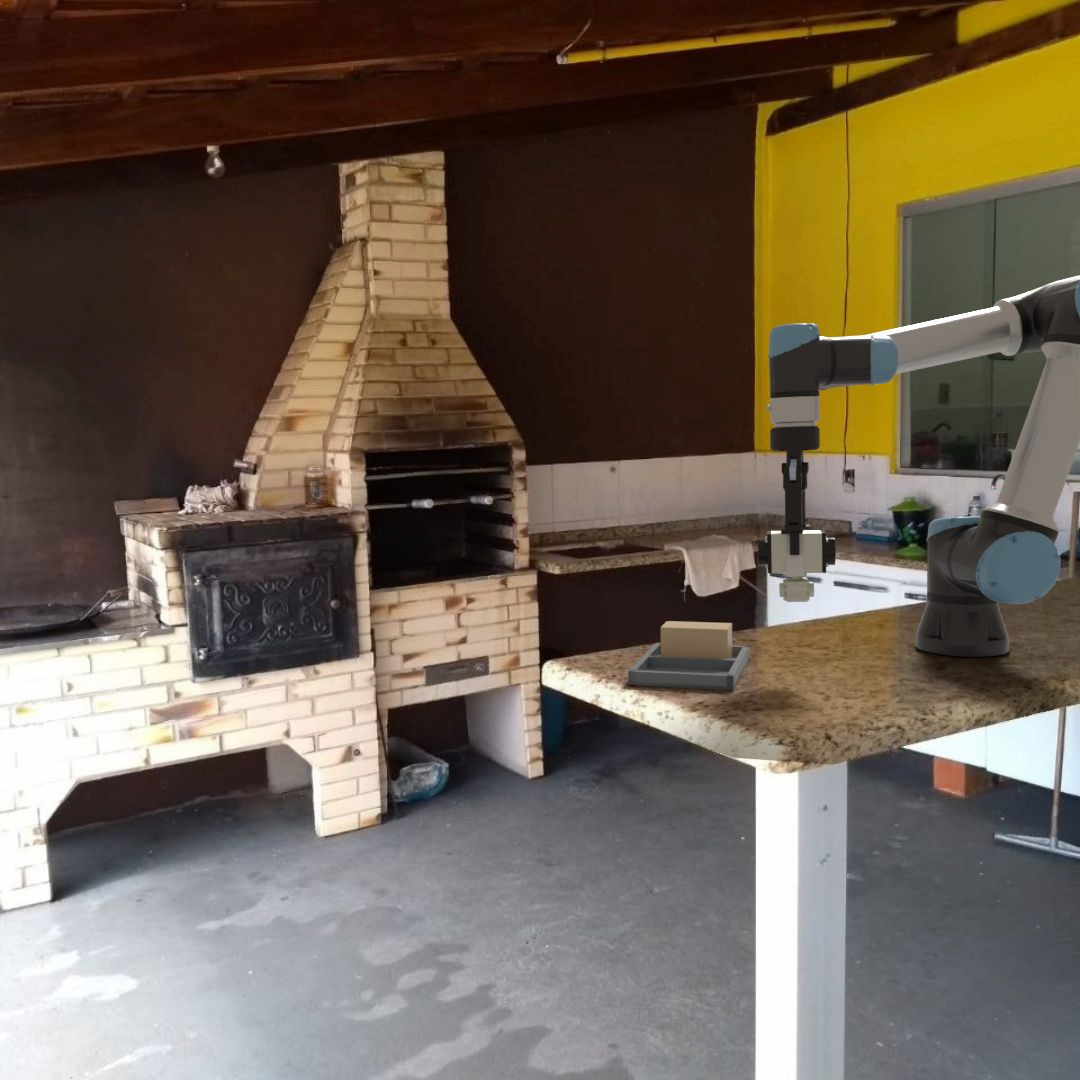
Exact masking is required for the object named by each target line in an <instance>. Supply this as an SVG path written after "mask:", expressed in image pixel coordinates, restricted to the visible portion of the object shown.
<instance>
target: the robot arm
mask: <svg viewBox="0 0 1080 1080" xmlns="http://www.w3.org/2000/svg"><path fill="white" fill-rule="evenodd" d="M819 330H820V329H819V326H818V325H817V324H815V323H805V322H804V323H787V324H781V325H780V324H779V325H777V326H775V327H773V328H772V329H771V330H770V332H769V339H768V340H769V342H768V355H767V359H768V370H769V371H768V372H769V373H768V374H769V402H770V403H771V404H766V407H765V410H766V411H767V412H770V414H769V416H770V417H769V422H770V423H771V424H773V426H774V427H771V429H770V430H769V440H770V441H769V442H770V443H769V448H770V450H771V451H772V452H786V458H785V459H786V462H783V463H782V462H781V474H782V488H783V490H784V512H785V513H784V515H785V518H784V519H785V520H784V522H785V523H784V529H781V530H780V531H781V534H786V573H785V576H786V577H787V576H791V577H792V576H800V577H803V576H804V534H803V531H804V530H810V529H811V524H810V523H807V518H806V490H807V488H808V474H809V471H810V470H809V461H806V462H805V461H804V459H805V458H804V452H805V451H817V450H819V449H820V447H821V446H820V445H821V444H820V443H821V439H820V437H821V434H820V433H821V432H820V431H821V430H820V428H819V426H818V425H817V423H819V422H820V421H821V419H820V418H821V414H820V413H821V409H820V408H821V400H820V399H821V398H820V391H825V390H831V389H835V388H842V387H844V388H845V387H849V386H862V385H865V386H866V385H870V386H874V385H880V384H887V383H890V382H891V381H892V380H893V379H894V378H895V376H896V375H898V374H902V373H903V374H904V373H907V372H908V373H909V372H912V371H918V370H922V369H926V368H927V369H928V368H930V367H931V368H932V367H936V366H940V365H945V364H950V363H954V362H958V361H964V360H968V359H969V360H970V359H973V358H978V357H982V356H987V355H992V354H996V353H1001V354H1002V355H1004V356H1006V357H1011V356H1016V355H1021V354H1026V353H1027V354H1028V353H1038V352H1042V353H1043V354H1044V357H1046V361H1045V365H1044V367H1043V370H1042V373H1041V376H1040V379H1039V382H1038V385H1037V387H1036V389H1035V393H1034V395H1033V398H1032V401H1031V405H1030V406H1029V409H1028V413H1027V415H1026V419H1025V422H1024V424H1023V427H1022V429H1021V432H1020V435H1019V438H1018V440H1017V444H1016V446H1015V449H1014V453H1013V455H1012V457H1011V461H1010V463H1009V466H1008V468H1007V472H1006V475H1005V477H1004V480H1003V484H1002V486H1001V489H1000V492H999V494H998V498H997V500H996V501H995V502H994V503H992V504H990V505H988V506H986V507H984V508H983V509H982V512H981V514H980V515H976V516H975V515H974V516H958V517H957V516H956V517H942V518H935V519H933V520H932V521H930V523H929V524H928V527H927V528H928V529H927V537H926V543H927V544H926V545H927V547H926V549H927V552H926V555H927V557H926V559H927V560H926V561H927V562H926V564H927V565H926V568H927V569H926V571H927V572H926V604H925V608H924V610H923V614H922V616H921V619H920V621H919V624H918V627H917V630H916V633H915V647H916V648H917V649H918V650H920V651H923V652H927V653H931V654H937V655H941V656H942V655H943V656H950V657H972V658H973V657H974V658H975V657H976V658H977V657H978V658H979V657H982V658H983V657H995V656H1001V655H1005V654H1007V653H1009V651H1010V636H1009V634H1008V630H1007V627H1006V625H1005V622H1004V618H1003V616H1002V612H1001V610H1000V609H1001V608H1000V604H1011V605H1023V604H1028V603H1029V604H1030V603H1032V602H1033V601H1034V602H1035V601H1036V600H1038V599H1040V598H1042V597H1044V596H1045V595H1046V594H1047V593H1048V592H1049V591H1050V590H1052V588H1053V587H1054V585H1055V584H1056V582H1057V580H1058V578H1059V576H1060V571H1061V566H1062V565H1061V564H1062V563H1061V561H1062V560H1061V556H1060V555H1059V553H1058V551H1059V550H1058V548H1057V546H1056V541H1057V539H1058V535H1059V532H1060V529H1059V527H1058V526H1057V525H1058V524H1056V522H1055V519H1054V514H1055V513H1056V510H1057V507H1058V504H1059V501H1060V498H1061V496H1062V494H1063V490H1064V488H1065V485H1066V482H1067V478H1068V476H1069V473H1070V471H1071V468H1072V465H1073V462H1074V460H1075V457H1076V454H1077V451H1078V448H1079V445H1080V275H1076V276H1072V277H1067V278H1064V279H1059V280H1056V281H1053V282H1050V283H1048V284H1045V285H1042V286H1039V287H1037V288H1035V289H1032V290H1029V291H1026V292H1024V293H1021V294H1017V295H1015V296H1011V297H1007V298H1003V299H999V300H997V301H996V302H995V303H994V304H993V306H992V307H989V308H984V309H979V310H975V311H971V312H966V313H961V314H957V315H952V316H948V317H944V318H943V317H941V318H939V319H933V320H929V321H925V322H920V323H915V324H911V325H906V326H901V327H897V328H892V329H887V330H882V331H877V332H873V333H869V334H863V335H850V336H849V335H848V336H832V337H829V336H821V333H820V331H819Z"/></svg>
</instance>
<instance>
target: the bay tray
mask: <svg viewBox="0 0 1080 1080" xmlns="http://www.w3.org/2000/svg"><path fill="white" fill-rule="evenodd" d="M749 659H750V646H749V645H733V623H732V622H710V621H709V622H707V621H706V622H705V621H680V620H679V621H676V620H675V621H674V620H669V621H668V620H667V621H665V623H663V624H662V625H661V626H660V642H655V643H654V644H653V645H652V646H651V647H650V648H649V649H648V650H647V652H646V653H644V654H643V655H642V656H641V657H640V658H639V659H638V660H637V662H636V663H635V664H633V666H632V667H631V668H630V669H628V671H627V676H628V677H627V679H628V680H627V682H628V686H630V685H636V687H650V688H651V687H655V688H669V689H670V688H672V689H673V688H674V689H675V688H676V689H691V690H692V689H694V690H695V689H697V690H713V691H732V692H733V691H734V690H735V688H736V686H737V685H738V683H739V680H740V679H741V676H742V674H743V672H744V669H745V668H746V666H747V665H748V662H749Z"/></svg>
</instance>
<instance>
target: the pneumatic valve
mask: <svg viewBox="0 0 1080 1080" xmlns="http://www.w3.org/2000/svg"><path fill="white" fill-rule="evenodd" d="M803 534H804V576H802V577H801V576H786V577H785V578H783V580H782V582H779V584H778V585H779V588H778V589H779V597H780V598H782V599H783V601H785V602H786V603H807V602H808V601H810V598H813V597H815V584H814V582H813V581H811V582H810V581H809V578H807V575H808V574H826V573H827V568H828V567H829V566H836V560H837V559H836V555H837V553H836V550H837V549H836V539H835V537H834V536H830V537H827V533H826V531H825V530H824V529H821V530H820V529H812V530H810V529H804V531H803ZM757 560H758V561H757V563H758V567H759V566H760V567H765V568H767V574H786V534H781V530H767V531H766V536H765V537H761V538H759V537H758V538H757Z"/></svg>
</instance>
